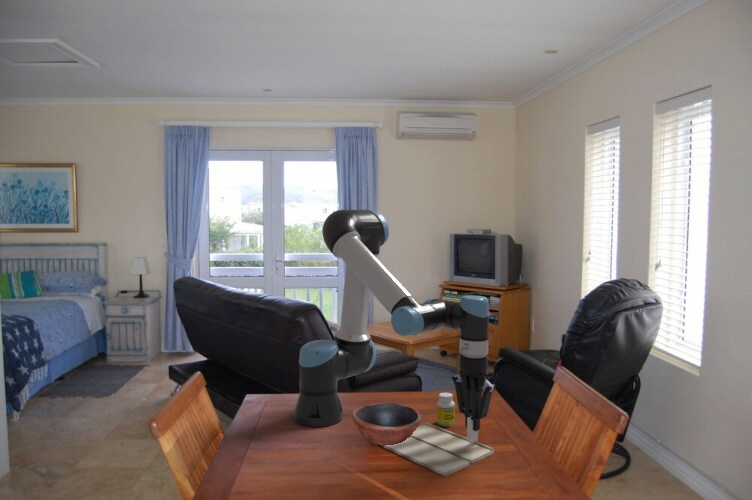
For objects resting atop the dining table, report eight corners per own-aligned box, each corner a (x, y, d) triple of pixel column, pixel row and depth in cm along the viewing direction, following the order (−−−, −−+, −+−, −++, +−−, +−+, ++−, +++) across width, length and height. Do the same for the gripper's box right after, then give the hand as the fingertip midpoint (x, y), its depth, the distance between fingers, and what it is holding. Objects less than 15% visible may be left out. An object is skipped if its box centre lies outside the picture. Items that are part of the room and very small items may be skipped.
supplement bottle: (447, 421, 168) (448, 390, 168) (458, 427, 164) (458, 395, 163) (433, 424, 166) (433, 393, 165) (443, 430, 161) (443, 398, 161)
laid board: (377, 447, 149) (378, 441, 149) (403, 437, 156) (403, 432, 156) (445, 479, 131) (445, 473, 131) (471, 466, 138) (471, 461, 138)
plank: (404, 437, 156) (404, 430, 156) (426, 428, 162) (426, 422, 162) (472, 466, 138) (472, 459, 138) (493, 455, 144) (493, 448, 144)
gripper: (445, 352, 148) (444, 437, 150) (485, 361, 139) (483, 453, 140) (463, 347, 153) (462, 430, 155) (502, 356, 144) (500, 444, 145)
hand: (472, 441), depth 148 cm, fingers closed
